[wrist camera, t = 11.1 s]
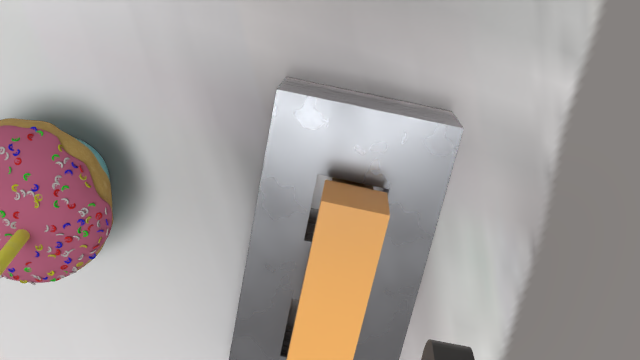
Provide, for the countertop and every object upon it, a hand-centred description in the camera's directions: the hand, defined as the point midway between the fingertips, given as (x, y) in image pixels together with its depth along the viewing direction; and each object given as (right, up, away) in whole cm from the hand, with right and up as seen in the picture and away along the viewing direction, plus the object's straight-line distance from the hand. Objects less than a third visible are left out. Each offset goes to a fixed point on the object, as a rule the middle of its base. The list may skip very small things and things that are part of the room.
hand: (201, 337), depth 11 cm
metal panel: (+3, -1, +24) cm, 24 cm away
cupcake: (-12, +3, +24) cm, 27 cm away
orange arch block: (+3, -1, +23) cm, 23 cm away
